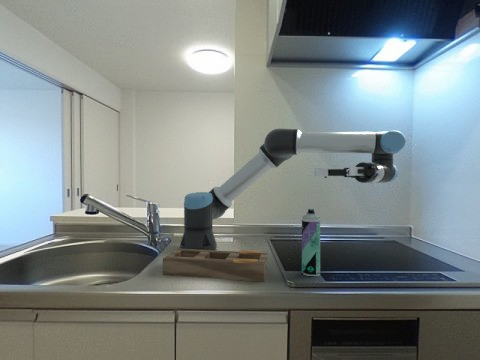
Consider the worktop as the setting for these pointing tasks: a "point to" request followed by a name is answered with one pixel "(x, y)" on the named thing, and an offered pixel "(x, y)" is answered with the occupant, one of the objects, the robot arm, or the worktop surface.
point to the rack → (217, 264)
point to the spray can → (311, 244)
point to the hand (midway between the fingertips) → (331, 171)
